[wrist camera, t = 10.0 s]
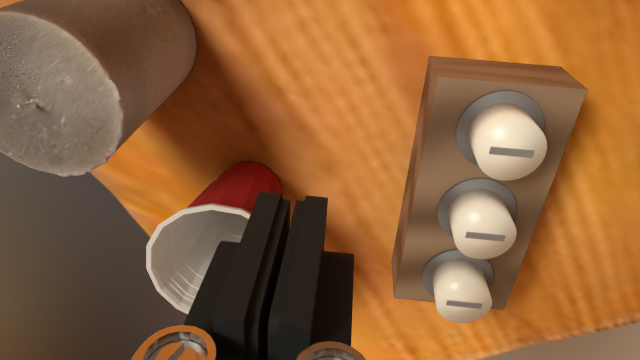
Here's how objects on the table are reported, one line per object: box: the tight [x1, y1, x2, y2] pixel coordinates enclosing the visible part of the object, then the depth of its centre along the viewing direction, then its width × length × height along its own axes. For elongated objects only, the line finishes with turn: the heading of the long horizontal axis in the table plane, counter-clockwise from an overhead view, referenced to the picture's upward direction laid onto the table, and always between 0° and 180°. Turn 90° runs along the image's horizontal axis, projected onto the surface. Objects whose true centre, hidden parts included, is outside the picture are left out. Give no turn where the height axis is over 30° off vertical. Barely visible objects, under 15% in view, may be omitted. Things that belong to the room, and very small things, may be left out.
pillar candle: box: [0, 0, 197, 177], centre depth 30 cm, size 10×10×15 cm
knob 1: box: [432, 259, 492, 323], centre depth 39 cm, size 4×4×3 cm
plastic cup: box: [146, 161, 283, 314], centre depth 38 cm, size 11×11×12 cm
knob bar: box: [392, 56, 588, 310], centre depth 39 cm, size 21×10×5 cm, turn 177°
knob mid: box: [448, 189, 517, 259], centre depth 35 cm, size 4×4×3 cm
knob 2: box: [468, 103, 547, 181], centre depth 31 cm, size 4×4×3 cm
